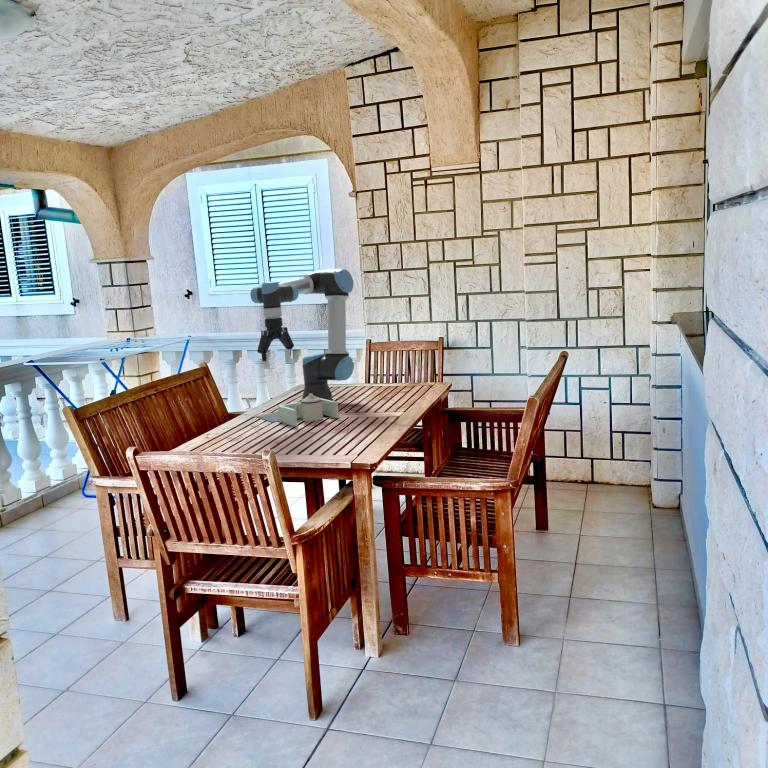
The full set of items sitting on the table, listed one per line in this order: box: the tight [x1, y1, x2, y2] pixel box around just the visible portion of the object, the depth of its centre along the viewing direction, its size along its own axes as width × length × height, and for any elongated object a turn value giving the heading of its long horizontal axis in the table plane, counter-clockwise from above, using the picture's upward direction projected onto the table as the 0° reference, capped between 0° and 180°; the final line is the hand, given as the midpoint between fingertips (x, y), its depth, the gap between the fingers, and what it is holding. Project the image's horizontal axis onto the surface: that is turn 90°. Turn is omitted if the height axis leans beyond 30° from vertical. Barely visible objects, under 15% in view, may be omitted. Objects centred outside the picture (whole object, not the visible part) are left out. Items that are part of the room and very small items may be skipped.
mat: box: [255, 412, 280, 423], centre depth 337 cm, size 18×18×1 cm
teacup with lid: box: [296, 394, 324, 423], centre depth 323 cm, size 12×9×12 cm
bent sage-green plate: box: [277, 398, 340, 427], centre depth 324 cm, size 21×16×7 cm
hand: (277, 366), depth 324 cm, fingers open, 13 cm apart
